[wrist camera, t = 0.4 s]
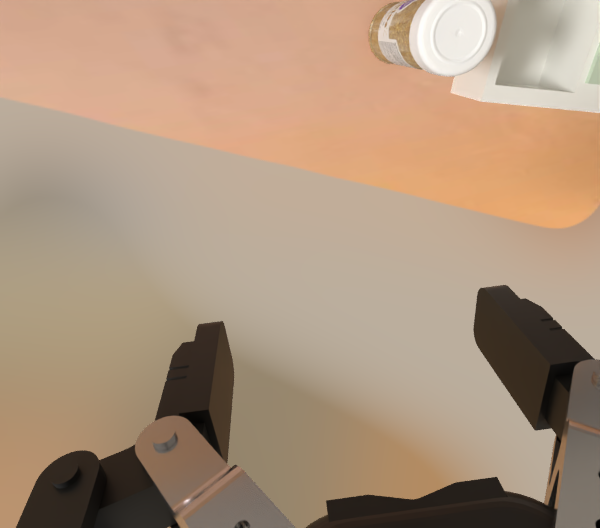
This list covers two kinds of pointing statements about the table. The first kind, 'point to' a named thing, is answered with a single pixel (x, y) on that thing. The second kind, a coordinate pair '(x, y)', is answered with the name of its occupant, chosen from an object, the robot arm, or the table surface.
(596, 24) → the socket block
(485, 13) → the spice jar
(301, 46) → the table surface
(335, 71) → the table surface
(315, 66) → the table surface
